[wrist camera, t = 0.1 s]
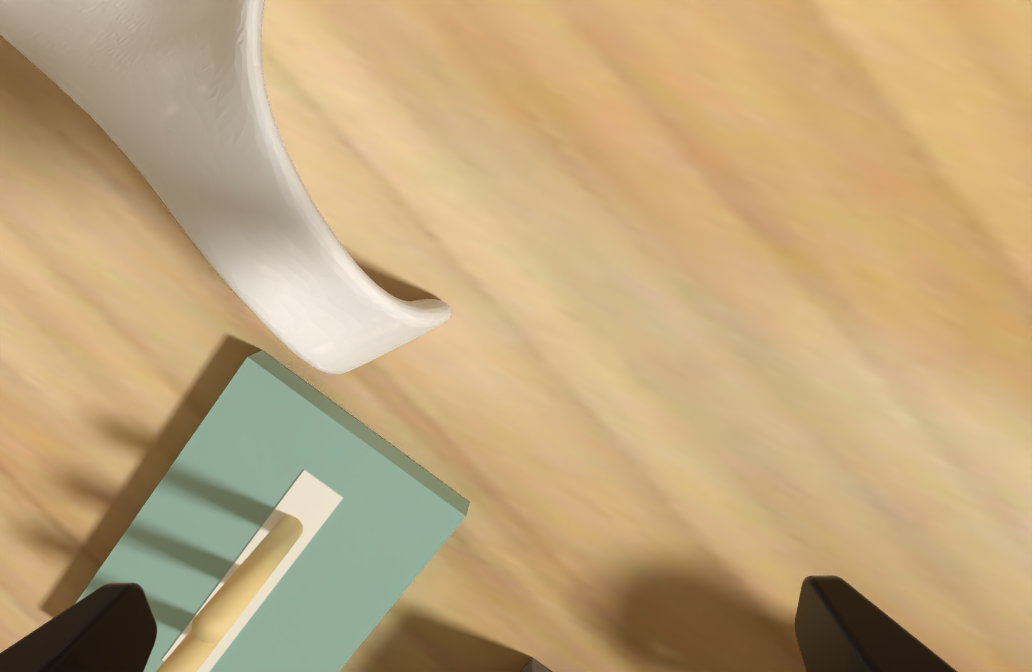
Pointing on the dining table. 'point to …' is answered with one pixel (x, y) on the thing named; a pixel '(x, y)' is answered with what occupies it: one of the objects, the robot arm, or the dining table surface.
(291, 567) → the header board
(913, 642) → the robot arm
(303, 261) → the spoon rest
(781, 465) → the dining table surface
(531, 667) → the plug housing
